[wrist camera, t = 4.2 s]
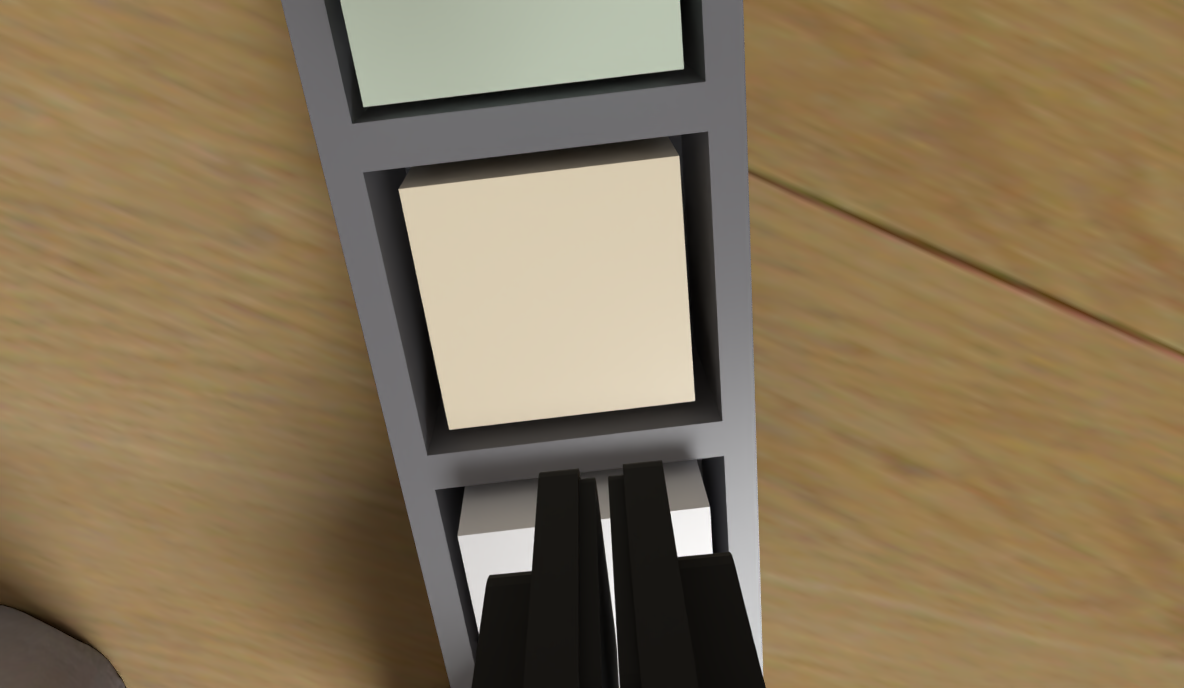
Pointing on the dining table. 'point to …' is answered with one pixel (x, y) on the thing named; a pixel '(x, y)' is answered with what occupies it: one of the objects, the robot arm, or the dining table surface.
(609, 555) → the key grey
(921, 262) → the dining table surface
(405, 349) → the grey compartment tray
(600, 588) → the robot arm
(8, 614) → the pillar candle
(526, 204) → the key sand
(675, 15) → the key sage
